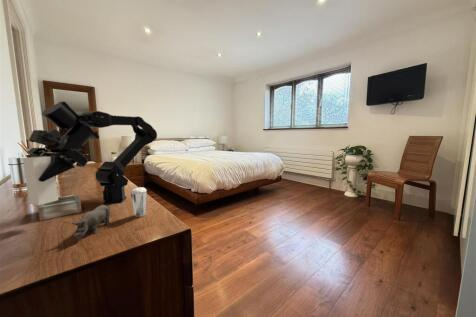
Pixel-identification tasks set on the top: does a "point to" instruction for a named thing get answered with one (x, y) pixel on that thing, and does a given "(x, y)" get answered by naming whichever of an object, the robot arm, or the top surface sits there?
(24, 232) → the top surface
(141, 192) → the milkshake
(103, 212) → the rhino figurine
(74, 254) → the top surface
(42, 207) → the coin box
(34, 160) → the peg
